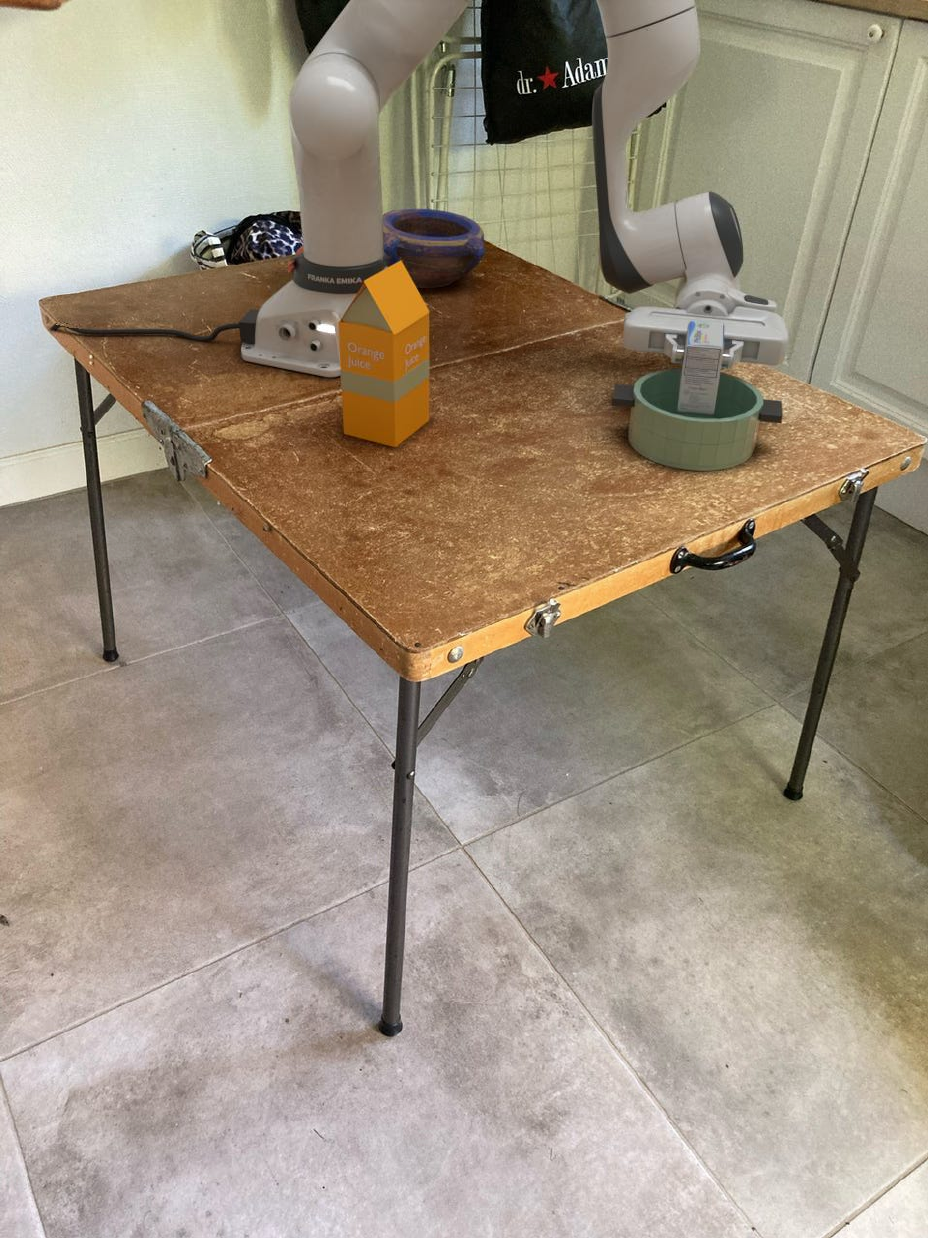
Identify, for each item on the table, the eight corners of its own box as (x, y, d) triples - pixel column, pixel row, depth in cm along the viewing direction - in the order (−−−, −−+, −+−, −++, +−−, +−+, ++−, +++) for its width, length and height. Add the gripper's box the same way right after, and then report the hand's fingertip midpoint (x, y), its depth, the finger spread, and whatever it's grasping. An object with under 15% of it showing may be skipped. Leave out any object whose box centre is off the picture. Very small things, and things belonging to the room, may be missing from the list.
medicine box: (713, 416, 128) (725, 347, 123) (675, 412, 128) (686, 343, 123) (714, 389, 134) (725, 322, 129) (678, 385, 135) (688, 319, 129)
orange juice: (342, 433, 134) (334, 275, 122) (378, 407, 141) (374, 254, 129) (396, 447, 131) (393, 287, 120) (430, 420, 138) (430, 265, 126)
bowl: (485, 298, 175) (486, 236, 169) (374, 297, 174) (373, 235, 168) (481, 263, 189) (483, 205, 183) (379, 262, 189) (378, 203, 183)
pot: (622, 462, 129) (628, 413, 126) (633, 408, 142) (639, 362, 138) (753, 477, 127) (763, 427, 123) (753, 421, 139) (762, 374, 135)
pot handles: (611, 405, 131) (612, 397, 131) (615, 391, 135) (615, 383, 134) (781, 423, 128) (782, 415, 128) (780, 408, 132) (781, 400, 131)
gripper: (628, 287, 139) (618, 326, 128) (789, 302, 136) (792, 343, 125) (623, 334, 143) (613, 375, 132) (779, 349, 140) (782, 393, 129)
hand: (701, 359), depth 129 cm, fingers closed on medicine box, 4 cm apart
